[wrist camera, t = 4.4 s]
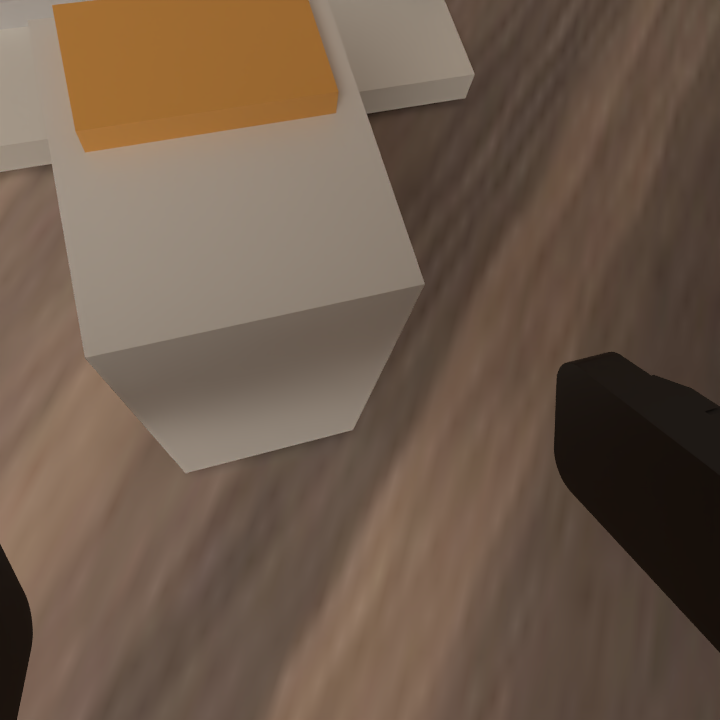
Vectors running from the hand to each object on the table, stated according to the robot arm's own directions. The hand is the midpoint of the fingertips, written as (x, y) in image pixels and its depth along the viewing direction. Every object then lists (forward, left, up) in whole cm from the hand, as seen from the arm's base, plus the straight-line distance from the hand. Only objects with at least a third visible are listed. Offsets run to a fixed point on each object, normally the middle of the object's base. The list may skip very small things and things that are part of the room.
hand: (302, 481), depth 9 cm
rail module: (0, +5, -10) cm, 11 cm away
